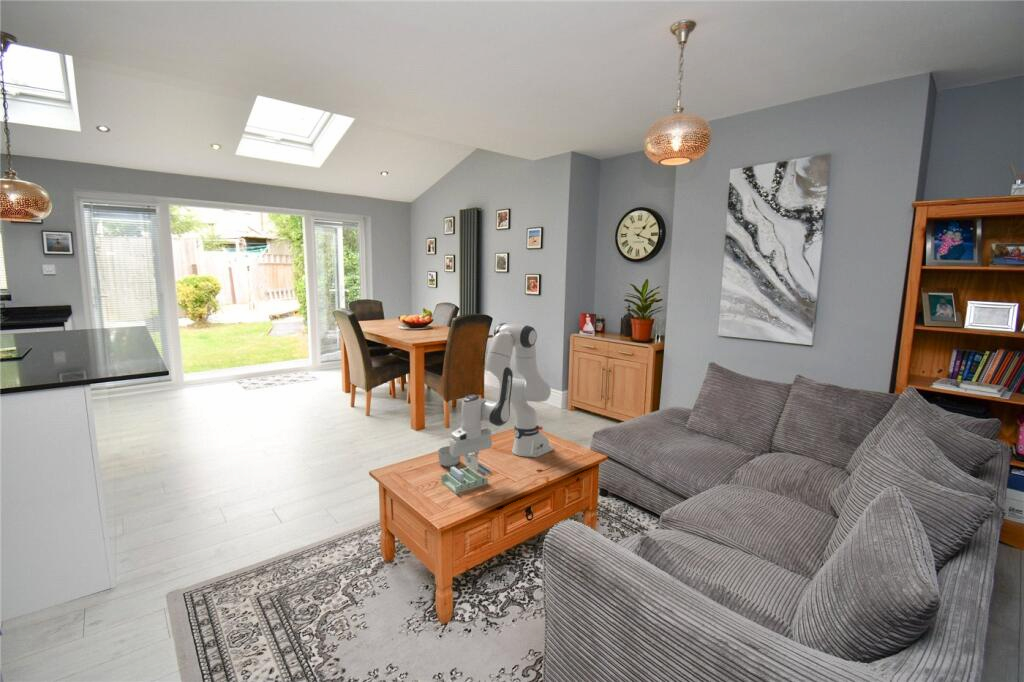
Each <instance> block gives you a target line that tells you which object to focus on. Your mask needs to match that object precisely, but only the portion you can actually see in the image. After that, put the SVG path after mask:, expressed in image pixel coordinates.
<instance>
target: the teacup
mask: <svg viewBox="0 0 1024 682" xmlns="http://www.w3.org/2000/svg"><path fill="white" fill-rule="evenodd" d="M449 449H450V445H447V446H446V445H445V446H442V447H440V448H439V449H437V454H438V461H439V464H440V465H441V466H443V467H446V468H450V467H456V465H458V463H460V460H461V456H456V457H454V456H452V455H451V454H450V451H449Z"/></svg>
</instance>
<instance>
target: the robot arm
mask: <svg viewBox="0 0 1024 682" xmlns="http://www.w3.org/2000/svg"><path fill="white" fill-rule="evenodd" d="M537 334H538V333H537V331H536V329H535V328H534V327H533V326H530V325H524V324H520V323H506V322H503V323H502V322H501V323H499V324H498V325H496V326H495V328H494V331H493V338H492V341H491V343H490V346H489V348H488V352H487V354H486V358H485V365H486V368H487V369H488V371H489V372H490V373H491V374H492V375H494V376H495V377H496V378H497V380H498V383H499V388H498V396H497V401H493V400H490V399H485V398H482V397H480V396H479V395H477V394H469V395H466V396H465V397H463V399H462V401H461V407H460V408H461V409H460V412H461V413H460V417H461V425H460V427H458V428H457V429H455V430H454V431H452V432H451V433H450V437H452V438H451V439H450V441H449V446H450V449H449V451H450V454H451V455H452V456H454V457H456V456H460V457H461V456H463V457H465V458H466V462H467V463H469V462H470V458H468V454H469V453H472V454H474V455H476V456H478V455H479V454H480V451H486V450H488V449H489V450H490V449H492V445H493V443H492V442H493V441H492V435H491V434H492V431H491V428H483V429H482V423H481V422H486V423H490V424H492V425H493V426H497V427H501V426H503V425H504V424H506V423H507V422H508V421H509V419H510V417H511V406H510V405H512V407H513V409H514V419H515V425H514V441H513V446H512V449H511V452H512V454H513V455H516V456H520V457H529V458H538V457H541V456H544V454H545V455H546V454H547V453H549V452H551V451H553V450H554V446H552V445H551V444H550V441H549V439H548V437H547V436H546V435H544V433H541V432H540V431H542V430H543V429H544V427H543V426H542V425H537V415H538V414H537V412H536V409H534V407H532V406H530V405H529V403H528V402H533V403H535V402H536V403H539V402H540V403H541V402H542V403H543V402H546V401H548V399H549V398H550V396H551V393H552V392H551V390H552V389H551V386H550V384H548V382H546V380H544V378H542V376H541V375H540V373H539V371H538V365H537V351H536V342H537V338H538V335H537ZM513 350H514V352H513ZM512 355H514V369H515V371H516V372H517V373H518V374H519V375H520V376H522V377H523V378H514V376H513V370H512V369H511V359H512ZM478 457H479V456H478Z"/></svg>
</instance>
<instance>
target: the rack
mask: <svg viewBox="0 0 1024 682" xmlns="http://www.w3.org/2000/svg"><path fill="white" fill-rule="evenodd" d="M449 468H450V469H449V471H450V472H445V473H443V474H441V475H440V483H441V484H443V485H444V486H445V487H446V488H448V489H449V490H450V491H451V492H452V493H454V494H455V495H459V494H460V493H462V492H464V491H465V492H466V491H468V490H472V489H475V488H478V487H482V486H485V485H488V484H489V477H488V476H485V477H484V476H483V475H481V474H480V473H478V472H477V471H475V470H473V469H471V468H469V467H468V466H466V467H464V468H459V469H458V468H457V467H456V466H452V467H449Z"/></svg>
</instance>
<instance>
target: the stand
mask: <svg viewBox="0 0 1024 682" xmlns="http://www.w3.org/2000/svg"><path fill="white" fill-rule="evenodd" d="M474 471H475V472H476V473H478V474H479V475H481V476H486V475H489V474H492V470H491V469H489V468H488V467H487V466H485V465H483V464H481V463H480V462H479V461H478V470H474Z"/></svg>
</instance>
